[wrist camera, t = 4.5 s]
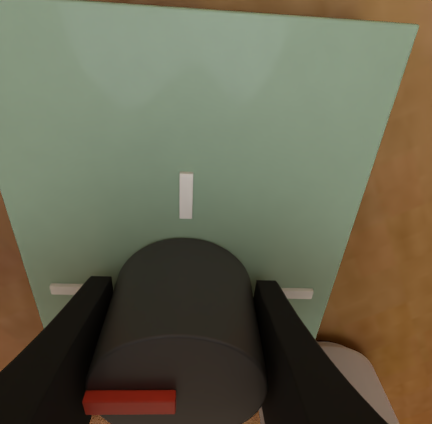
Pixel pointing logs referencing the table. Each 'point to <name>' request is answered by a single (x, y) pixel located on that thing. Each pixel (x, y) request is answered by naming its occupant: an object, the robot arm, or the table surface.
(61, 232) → the dial panel
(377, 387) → the beverage can
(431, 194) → the table surface
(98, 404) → the dial
